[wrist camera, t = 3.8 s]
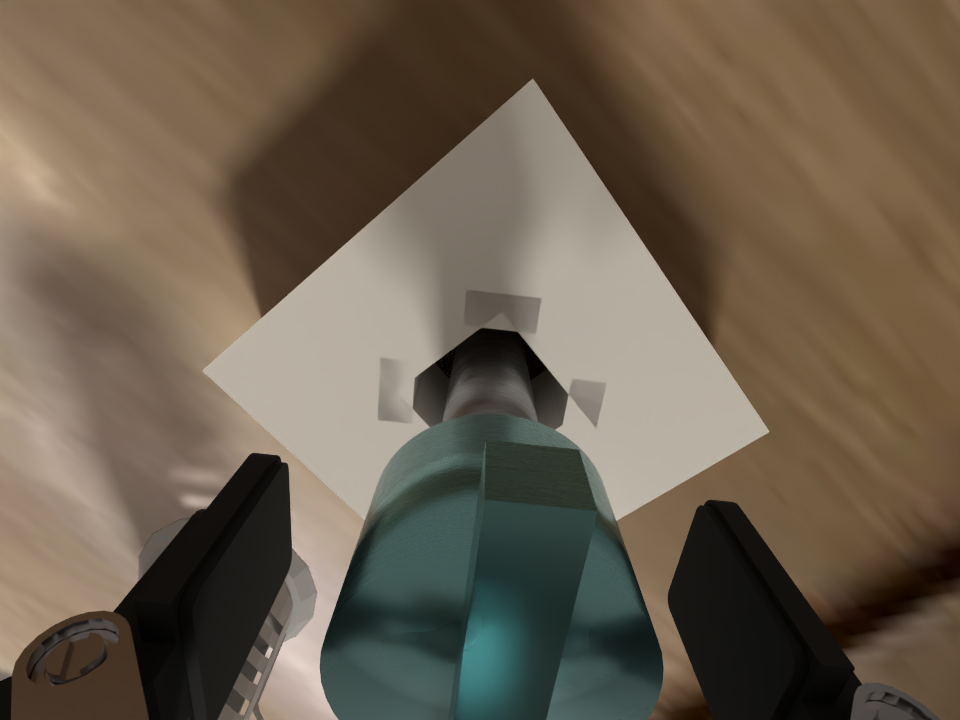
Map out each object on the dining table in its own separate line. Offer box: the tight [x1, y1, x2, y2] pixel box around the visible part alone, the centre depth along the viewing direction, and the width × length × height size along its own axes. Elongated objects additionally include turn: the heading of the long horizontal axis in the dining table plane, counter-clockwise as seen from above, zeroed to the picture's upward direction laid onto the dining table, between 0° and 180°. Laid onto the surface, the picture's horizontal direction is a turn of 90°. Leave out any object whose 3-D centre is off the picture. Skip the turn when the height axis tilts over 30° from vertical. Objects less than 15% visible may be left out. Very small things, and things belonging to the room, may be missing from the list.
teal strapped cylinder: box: [320, 328, 663, 720], centre depth 14 cm, size 9×6×16 cm, turn 174°
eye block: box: [202, 79, 769, 521], centre depth 20 cm, size 14×14×5 cm
